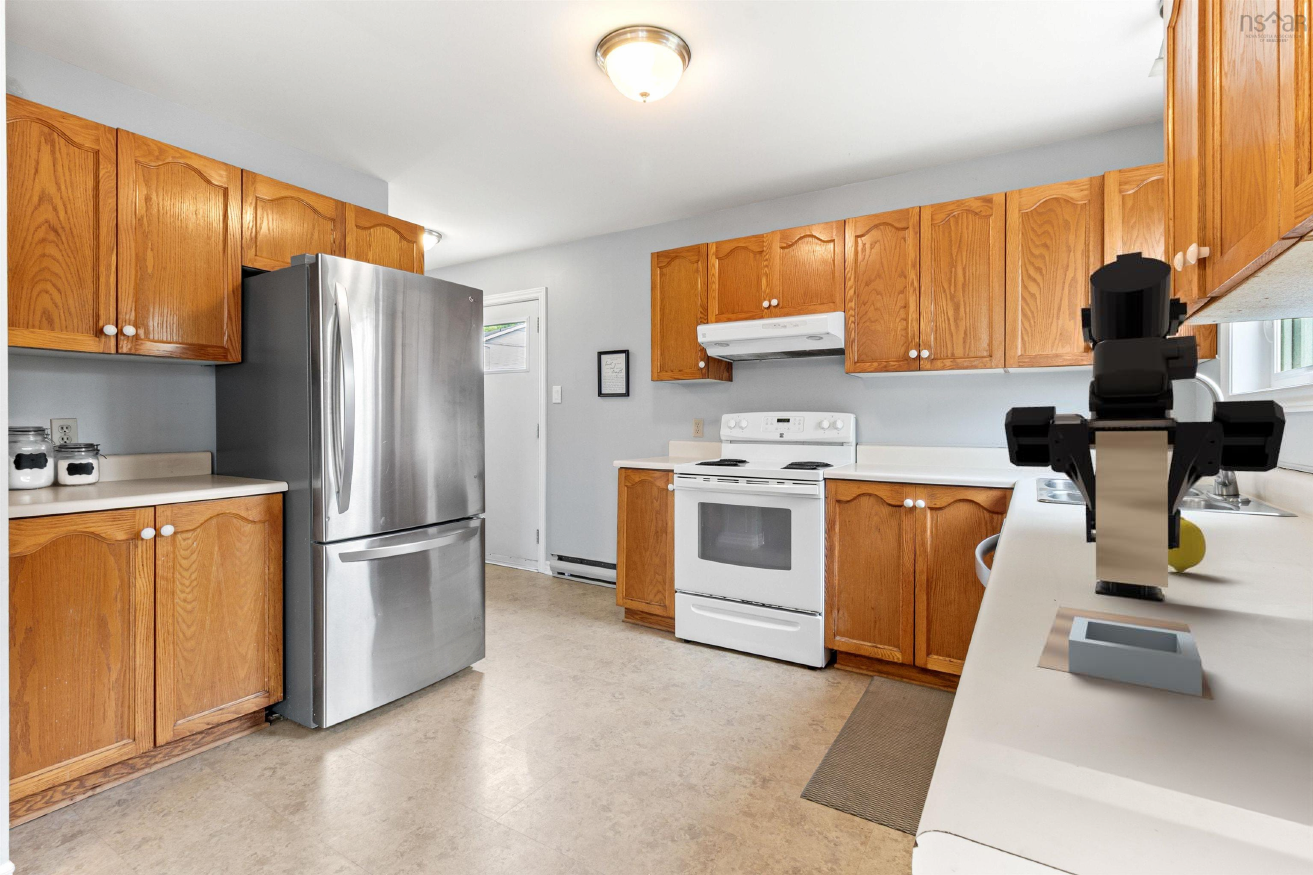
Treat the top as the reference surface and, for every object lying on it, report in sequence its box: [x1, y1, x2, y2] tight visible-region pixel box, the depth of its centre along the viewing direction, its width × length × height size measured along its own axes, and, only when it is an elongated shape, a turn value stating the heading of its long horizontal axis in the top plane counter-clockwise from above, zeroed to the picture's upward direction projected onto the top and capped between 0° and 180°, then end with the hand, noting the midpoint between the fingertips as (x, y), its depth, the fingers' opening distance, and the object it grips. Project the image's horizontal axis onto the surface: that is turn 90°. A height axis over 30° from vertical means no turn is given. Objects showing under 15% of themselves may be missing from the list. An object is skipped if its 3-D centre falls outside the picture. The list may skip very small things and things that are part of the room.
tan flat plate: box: [1037, 605, 1214, 701], centre depth 55 cm, size 22×10×1 cm, turn 143°
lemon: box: [1168, 516, 1207, 573], centre depth 88 cm, size 6×6×8 cm
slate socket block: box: [1069, 617, 1203, 698], centre depth 49 cm, size 8×8×2 cm
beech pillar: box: [1095, 431, 1169, 589], centre depth 51 cm, size 4×4×12 cm
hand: (1130, 509), depth 49 cm, fingers closed on beech pillar, 4 cm apart
